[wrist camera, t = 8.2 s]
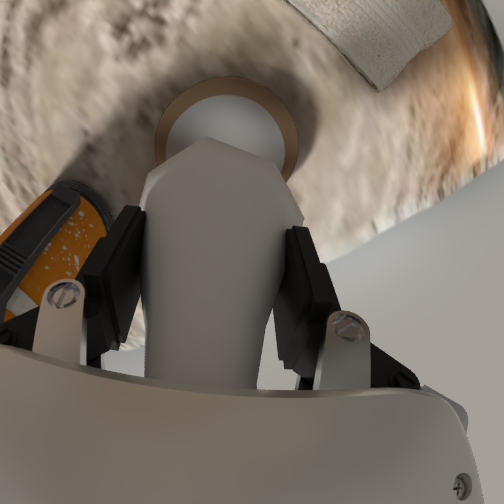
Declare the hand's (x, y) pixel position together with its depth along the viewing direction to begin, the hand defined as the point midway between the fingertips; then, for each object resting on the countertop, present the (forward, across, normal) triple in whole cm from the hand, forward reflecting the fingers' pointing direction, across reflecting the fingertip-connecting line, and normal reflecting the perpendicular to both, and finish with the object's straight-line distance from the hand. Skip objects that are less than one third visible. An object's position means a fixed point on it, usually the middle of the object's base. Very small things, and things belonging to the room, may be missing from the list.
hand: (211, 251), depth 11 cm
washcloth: (+16, -6, -17) cm, 24 cm away
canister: (+15, +14, +8) cm, 22 cm away
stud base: (+15, 0, 0) cm, 15 cm away
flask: (+3, 0, 0) cm, 3 cm away
